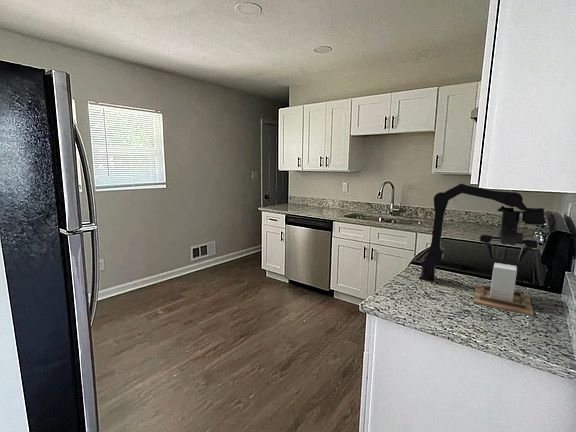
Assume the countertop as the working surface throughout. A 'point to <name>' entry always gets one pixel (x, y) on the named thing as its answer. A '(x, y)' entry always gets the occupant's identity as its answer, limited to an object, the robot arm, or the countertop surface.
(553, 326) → the countertop surface
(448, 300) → the countertop surface
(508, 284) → the supplement box
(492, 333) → the countertop surface
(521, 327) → the countertop surface
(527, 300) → the wooden tray
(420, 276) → the robot arm
